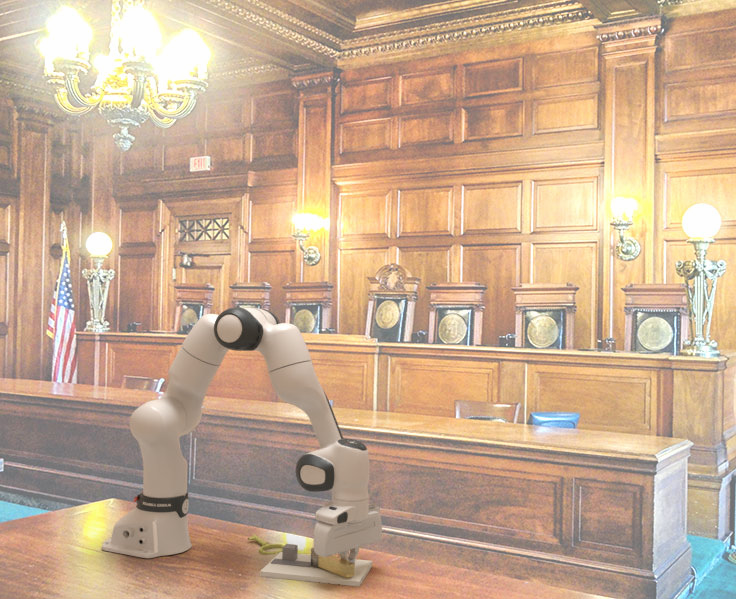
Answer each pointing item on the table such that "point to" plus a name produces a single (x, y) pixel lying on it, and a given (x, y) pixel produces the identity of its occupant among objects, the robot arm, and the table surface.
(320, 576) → the lock plate
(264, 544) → the key
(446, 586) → the table surface
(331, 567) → the swing arm
